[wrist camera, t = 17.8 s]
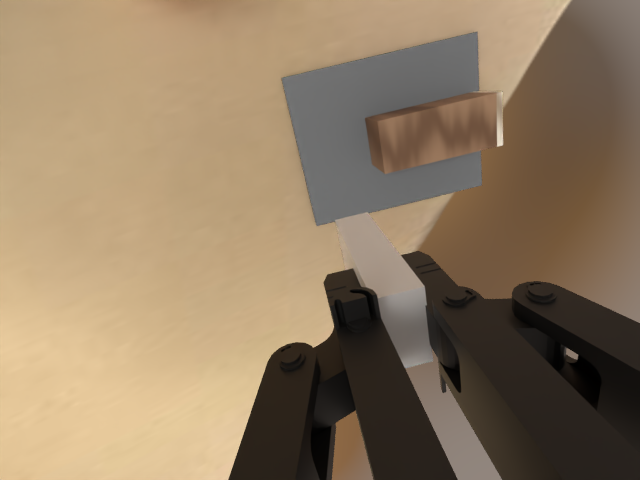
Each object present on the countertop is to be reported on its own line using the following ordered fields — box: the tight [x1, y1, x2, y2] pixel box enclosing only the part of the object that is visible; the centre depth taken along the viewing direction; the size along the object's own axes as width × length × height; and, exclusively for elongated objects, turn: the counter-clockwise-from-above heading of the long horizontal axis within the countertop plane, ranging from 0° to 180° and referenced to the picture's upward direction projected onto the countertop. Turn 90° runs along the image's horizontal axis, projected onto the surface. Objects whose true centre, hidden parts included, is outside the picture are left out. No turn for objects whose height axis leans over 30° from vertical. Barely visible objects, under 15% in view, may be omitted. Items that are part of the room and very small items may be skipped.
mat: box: [281, 32, 482, 226], centre depth 38 cm, size 16×20×1 cm
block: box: [365, 91, 503, 174], centre depth 36 cm, size 5×5×12 cm
